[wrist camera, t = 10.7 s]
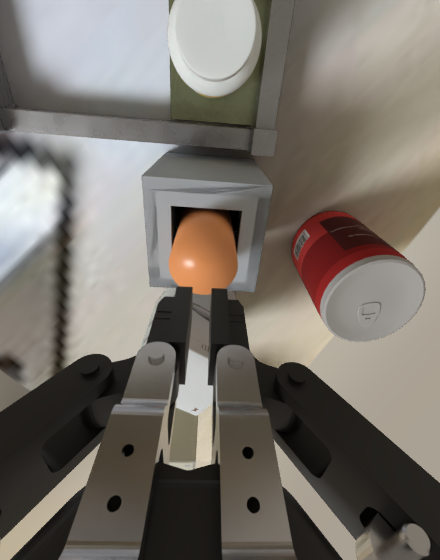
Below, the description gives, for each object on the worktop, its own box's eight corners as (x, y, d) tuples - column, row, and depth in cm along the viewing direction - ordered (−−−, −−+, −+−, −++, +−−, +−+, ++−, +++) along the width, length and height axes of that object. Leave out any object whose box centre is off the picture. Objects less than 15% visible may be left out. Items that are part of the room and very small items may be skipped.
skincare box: (171, 370, 41) (156, 460, 30) (200, 371, 41) (196, 461, 31) (171, 396, 44) (158, 485, 34) (198, 397, 44) (193, 486, 34)
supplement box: (237, 291, 33) (248, 379, 23) (201, 328, 36) (196, 420, 26) (187, 259, 31) (172, 339, 20) (153, 301, 34) (124, 390, 23)
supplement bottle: (166, 66, 21) (137, 41, 13) (205, -12, 19) (199, -98, 11) (221, 114, 23) (225, 118, 15) (263, 48, 21) (294, 12, 13)
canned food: (300, 283, 33) (334, 353, 24) (279, 226, 29) (310, 283, 20) (365, 259, 31) (429, 325, 22) (353, 195, 27) (424, 242, 18)
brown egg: (180, 247, 22) (169, 292, 17) (180, 197, 20) (167, 231, 15) (229, 249, 22) (234, 296, 17) (234, 201, 20) (241, 236, 15)
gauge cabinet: (168, 234, 29) (149, 286, 21) (166, 152, 25) (141, 176, 16) (245, 239, 30) (257, 292, 21) (255, 159, 25) (276, 185, 17)
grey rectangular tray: (2, 128, 24) (-33, 132, 20) (-66, -96, 17) (-135, -145, 14) (265, 150, 25) (273, 156, 22) (295, -52, 18) (314, -87, 15)
